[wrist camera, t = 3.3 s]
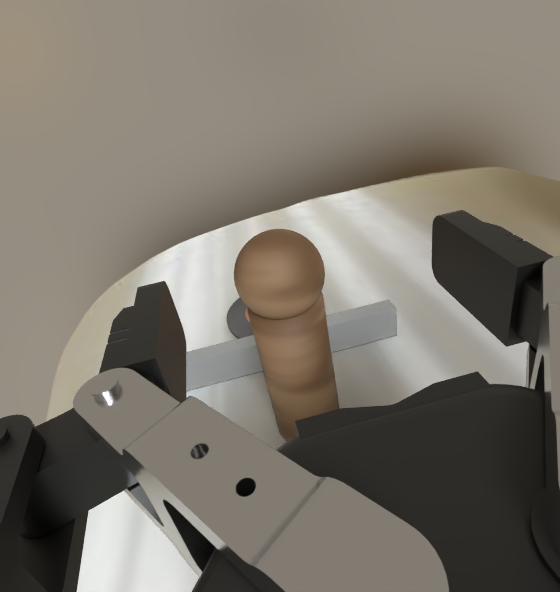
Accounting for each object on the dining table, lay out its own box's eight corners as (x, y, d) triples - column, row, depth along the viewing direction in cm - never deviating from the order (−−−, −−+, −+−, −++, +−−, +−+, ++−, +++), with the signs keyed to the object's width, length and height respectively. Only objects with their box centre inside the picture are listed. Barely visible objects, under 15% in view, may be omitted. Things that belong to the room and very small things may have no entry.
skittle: (286, 390, 35) (246, 215, 27) (350, 398, 34) (328, 212, 25) (264, 443, 31) (207, 257, 23) (335, 456, 29) (303, 257, 21)
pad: (249, 286, 51) (248, 281, 50) (331, 289, 47) (330, 284, 47) (212, 339, 43) (210, 335, 43) (306, 348, 39) (305, 343, 39)
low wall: (181, 392, 37) (170, 367, 36) (181, 381, 39) (171, 356, 37) (397, 335, 39) (396, 308, 37) (390, 325, 40) (389, 299, 38)
